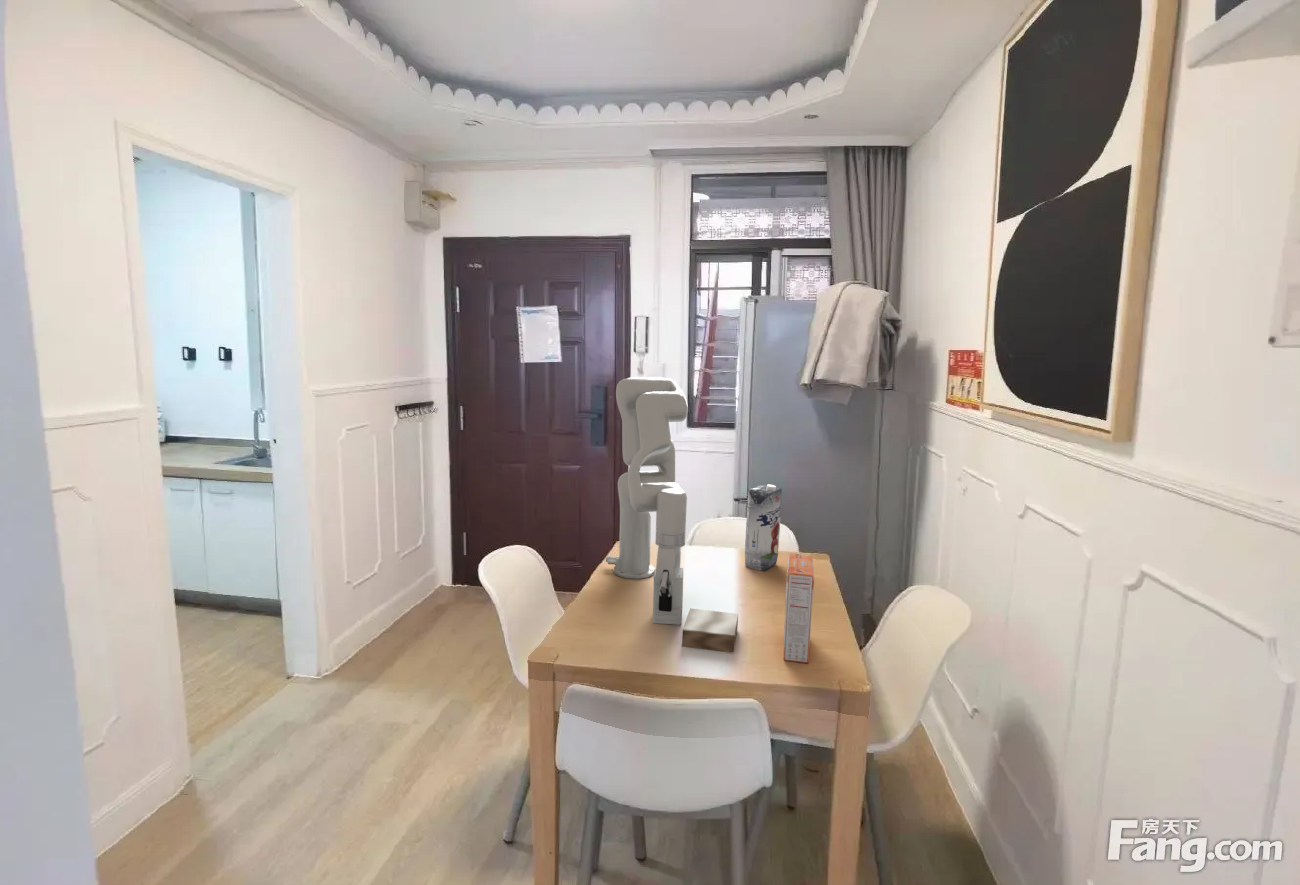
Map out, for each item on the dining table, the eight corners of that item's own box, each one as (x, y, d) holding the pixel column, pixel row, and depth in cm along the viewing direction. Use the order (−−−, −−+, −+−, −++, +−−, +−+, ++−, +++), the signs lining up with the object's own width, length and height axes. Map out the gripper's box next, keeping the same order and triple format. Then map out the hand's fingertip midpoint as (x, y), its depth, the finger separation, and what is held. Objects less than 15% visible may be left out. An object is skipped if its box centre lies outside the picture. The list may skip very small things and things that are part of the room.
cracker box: (782, 633, 154) (788, 552, 151) (808, 637, 153) (814, 555, 149) (781, 661, 140) (787, 572, 137) (809, 665, 139) (815, 575, 136)
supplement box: (682, 613, 164) (684, 567, 162) (681, 625, 157) (683, 577, 155) (654, 611, 165) (656, 565, 163) (651, 623, 157) (653, 575, 156)
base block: (681, 646, 146) (682, 629, 145) (689, 624, 158) (690, 608, 157) (733, 652, 144) (734, 635, 143) (737, 630, 155) (738, 613, 155)
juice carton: (740, 567, 200) (745, 485, 196) (755, 558, 209) (759, 479, 204) (766, 573, 195) (771, 489, 191) (780, 564, 204) (785, 483, 199)
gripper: (662, 527, 167) (660, 590, 169) (648, 547, 150) (646, 616, 152) (690, 529, 165) (687, 593, 168) (679, 550, 148) (676, 620, 151)
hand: (668, 603), depth 160 cm, fingers closed on supplement box, 7 cm apart
